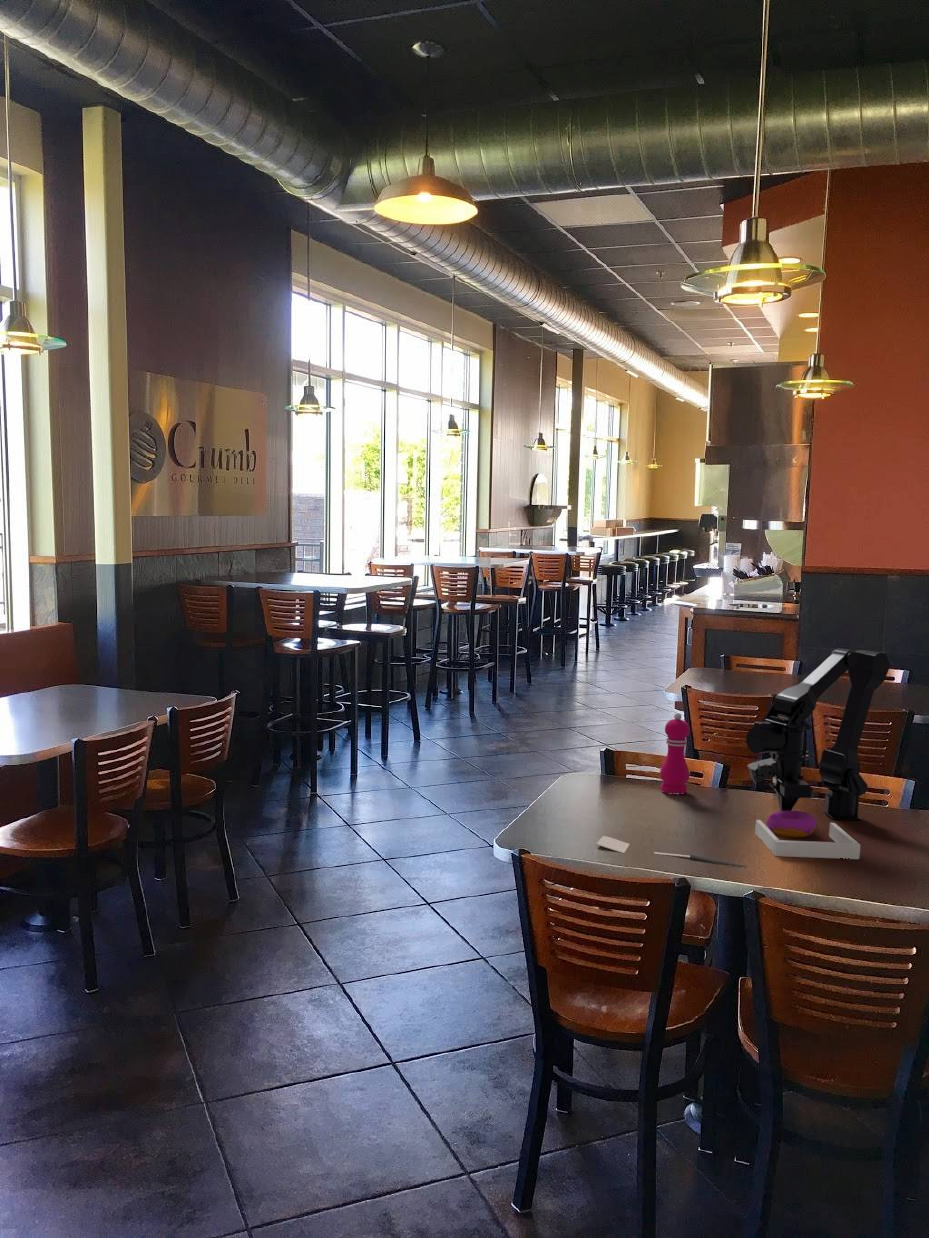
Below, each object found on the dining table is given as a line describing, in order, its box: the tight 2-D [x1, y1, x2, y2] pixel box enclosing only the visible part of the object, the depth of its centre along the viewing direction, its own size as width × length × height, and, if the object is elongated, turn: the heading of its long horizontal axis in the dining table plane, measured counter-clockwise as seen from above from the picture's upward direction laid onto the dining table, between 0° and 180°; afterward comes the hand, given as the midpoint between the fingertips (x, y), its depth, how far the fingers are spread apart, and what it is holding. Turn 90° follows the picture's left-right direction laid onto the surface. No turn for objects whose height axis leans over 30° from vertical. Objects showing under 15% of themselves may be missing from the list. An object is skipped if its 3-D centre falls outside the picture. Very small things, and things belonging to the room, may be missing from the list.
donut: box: [766, 810, 817, 838], centre depth 211 cm, size 10×10×5 cm
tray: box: [754, 819, 861, 860], centre depth 203 cm, size 17×14×3 cm
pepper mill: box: [659, 712, 690, 794], centre depth 241 cm, size 7×7×20 cm
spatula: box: [596, 835, 747, 868], centre depth 195 cm, size 6×29×2 cm, turn 67°
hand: (784, 817), depth 218 cm, fingers closed
